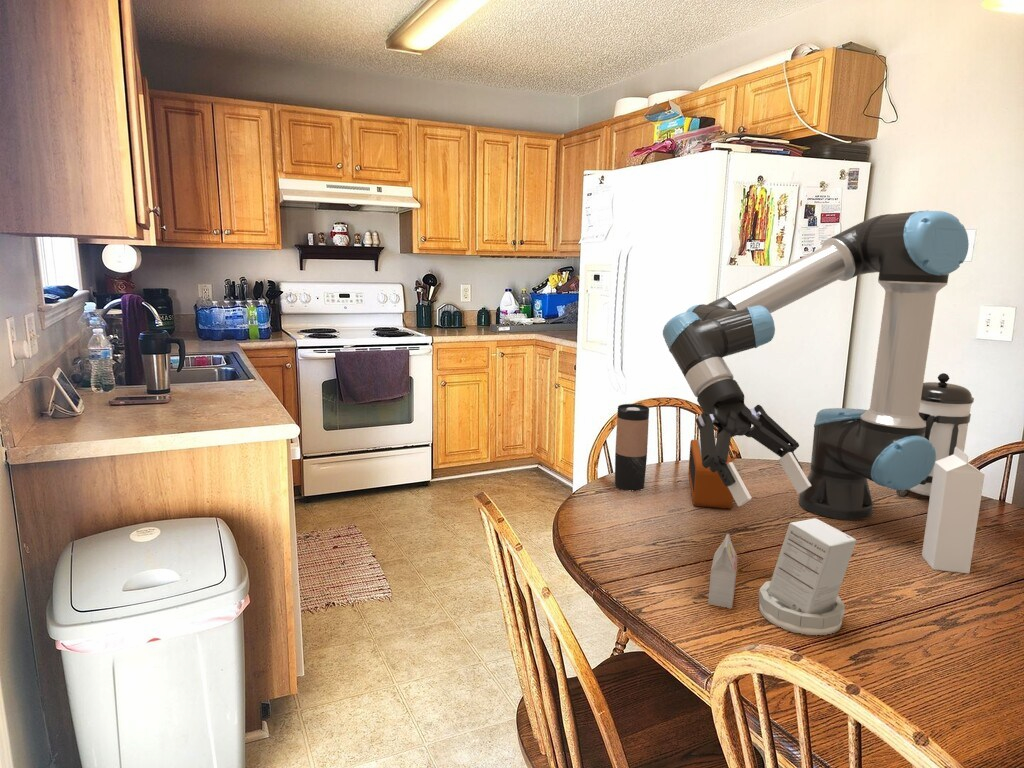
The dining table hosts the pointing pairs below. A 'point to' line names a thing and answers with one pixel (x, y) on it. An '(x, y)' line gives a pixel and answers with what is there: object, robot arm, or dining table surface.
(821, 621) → the white faceted bowl
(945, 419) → the coffee press
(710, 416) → the robot arm
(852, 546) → the supplement box
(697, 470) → the alarm clock
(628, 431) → the travel mug
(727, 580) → the white juice carton
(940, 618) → the dining table surface
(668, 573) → the dining table surface
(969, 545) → the milk
